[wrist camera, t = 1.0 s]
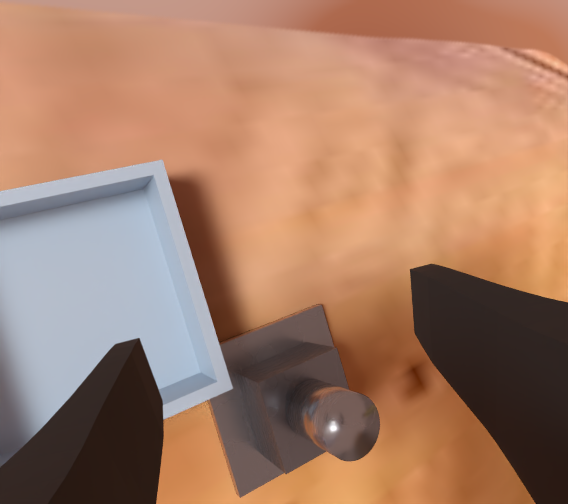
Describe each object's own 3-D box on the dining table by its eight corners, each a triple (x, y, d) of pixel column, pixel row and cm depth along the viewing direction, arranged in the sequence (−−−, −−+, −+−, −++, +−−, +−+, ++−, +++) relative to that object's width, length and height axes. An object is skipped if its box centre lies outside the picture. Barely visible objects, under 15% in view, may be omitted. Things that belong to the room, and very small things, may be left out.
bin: (211, 377, 25) (232, 388, 22) (-27, 478, 20) (-44, 511, 17) (150, 177, 24) (162, 159, 21) (-109, 231, 20) (-143, 218, 16)
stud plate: (353, 428, 28) (383, 441, 26) (236, 493, 25) (257, 517, 22) (316, 304, 28) (343, 305, 25) (192, 353, 25) (208, 360, 22)
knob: (328, 416, 27) (407, 452, 21) (259, 452, 25) (324, 505, 19) (305, 341, 27) (379, 355, 21) (234, 372, 25) (291, 398, 19)
